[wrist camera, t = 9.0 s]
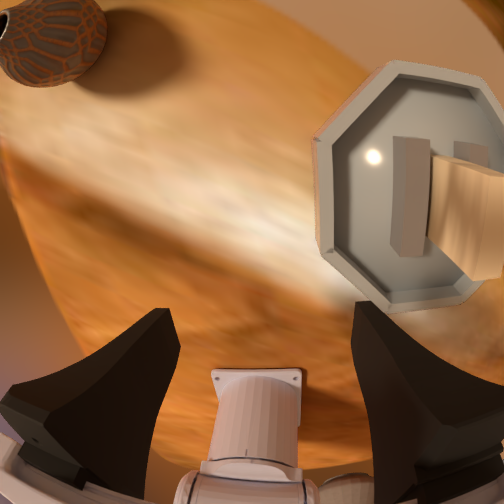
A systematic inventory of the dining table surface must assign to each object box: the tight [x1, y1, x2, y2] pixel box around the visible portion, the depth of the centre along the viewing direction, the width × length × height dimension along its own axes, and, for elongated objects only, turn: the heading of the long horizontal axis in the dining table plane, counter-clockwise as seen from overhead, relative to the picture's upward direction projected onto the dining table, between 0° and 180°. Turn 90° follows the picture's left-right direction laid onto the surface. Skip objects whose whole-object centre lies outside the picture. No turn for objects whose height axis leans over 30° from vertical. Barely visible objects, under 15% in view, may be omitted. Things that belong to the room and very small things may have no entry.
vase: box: [0, 0, 107, 88], centre depth 11 cm, size 7×7×9 cm
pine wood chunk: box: [425, 154, 504, 281], centre depth 13 cm, size 5×2×7 cm, turn 5°
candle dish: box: [311, 60, 504, 314], centre depth 16 cm, size 16×16×3 cm
